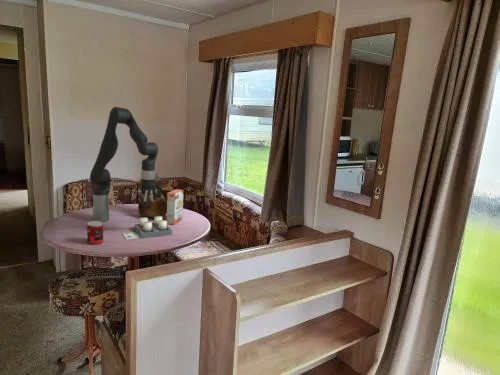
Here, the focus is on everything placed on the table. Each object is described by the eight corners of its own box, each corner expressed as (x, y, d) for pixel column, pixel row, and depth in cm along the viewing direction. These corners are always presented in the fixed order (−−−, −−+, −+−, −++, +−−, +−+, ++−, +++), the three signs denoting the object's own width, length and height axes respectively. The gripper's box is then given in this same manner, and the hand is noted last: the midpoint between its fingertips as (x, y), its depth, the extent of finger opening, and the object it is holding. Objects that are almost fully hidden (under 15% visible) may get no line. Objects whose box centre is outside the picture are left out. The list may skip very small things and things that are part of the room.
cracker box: (174, 225, 228) (175, 193, 224) (166, 224, 229) (166, 192, 225) (183, 219, 242) (184, 189, 237) (174, 218, 243) (175, 188, 238)
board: (141, 238, 201) (141, 233, 200) (134, 229, 215) (134, 224, 214) (172, 234, 210) (172, 229, 210) (163, 226, 224) (163, 221, 224)
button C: (144, 232, 203) (144, 224, 202) (142, 229, 207) (142, 222, 206) (152, 231, 205) (152, 223, 204) (150, 228, 209) (150, 221, 208)
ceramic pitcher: (154, 210, 257) (155, 170, 251) (173, 216, 246) (175, 174, 240) (132, 215, 241) (132, 172, 235) (151, 222, 230) (151, 177, 224)
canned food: (90, 239, 194) (89, 220, 191) (105, 240, 194) (105, 221, 192) (85, 244, 186) (84, 225, 184) (100, 245, 187) (100, 225, 185)
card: (126, 239, 198) (126, 238, 198) (123, 234, 206) (123, 233, 205) (142, 237, 203) (142, 236, 203) (138, 232, 210) (138, 231, 210)
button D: (159, 230, 207) (160, 222, 206) (157, 227, 211) (157, 220, 210) (167, 229, 210) (168, 222, 209) (165, 227, 214) (165, 219, 213)
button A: (140, 227, 210) (140, 219, 209) (138, 224, 214) (138, 217, 213) (148, 226, 213) (148, 219, 212) (146, 224, 217) (146, 217, 216)
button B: (155, 225, 215) (155, 218, 214) (153, 223, 219) (153, 216, 218) (163, 225, 217) (163, 217, 216) (160, 222, 221) (161, 215, 220)
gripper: (158, 176, 206) (157, 204, 210) (134, 176, 199) (133, 206, 203) (162, 178, 200) (161, 208, 204) (137, 179, 193) (137, 209, 196)
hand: (147, 207), depth 203 cm, fingers closed
